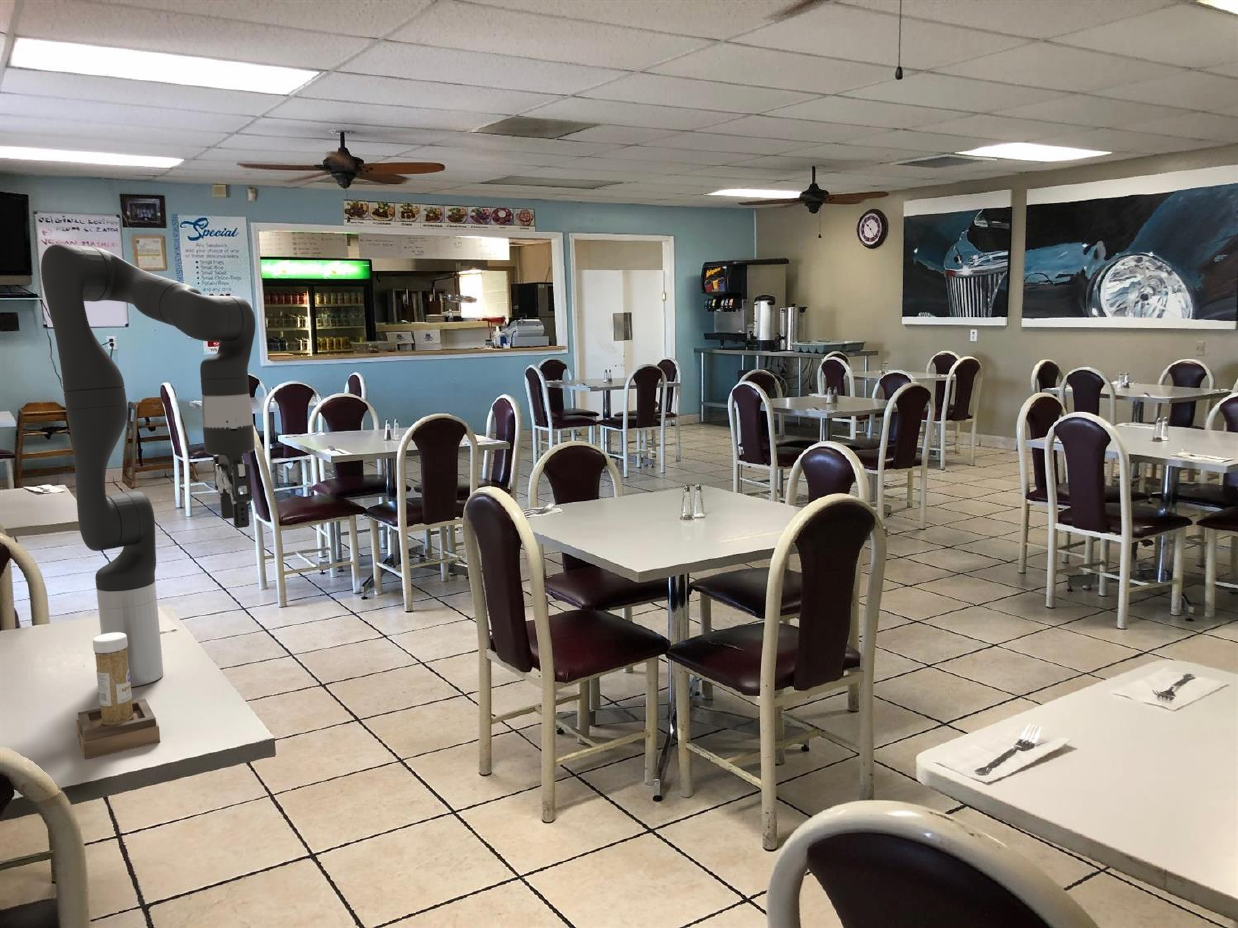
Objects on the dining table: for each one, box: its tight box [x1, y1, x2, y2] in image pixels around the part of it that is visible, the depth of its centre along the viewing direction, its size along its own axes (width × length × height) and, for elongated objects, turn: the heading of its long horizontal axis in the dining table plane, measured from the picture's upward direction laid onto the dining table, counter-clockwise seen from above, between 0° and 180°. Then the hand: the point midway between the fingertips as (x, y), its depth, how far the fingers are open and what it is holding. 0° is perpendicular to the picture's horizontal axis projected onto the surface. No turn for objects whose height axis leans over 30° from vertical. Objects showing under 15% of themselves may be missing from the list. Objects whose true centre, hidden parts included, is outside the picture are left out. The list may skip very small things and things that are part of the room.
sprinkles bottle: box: [92, 632, 134, 726], centre depth 147 cm, size 5×5×13 cm
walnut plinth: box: [75, 698, 161, 760], centre depth 148 cm, size 10×10×4 cm
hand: (235, 522), depth 158 cm, fingers open, 8 cm apart
